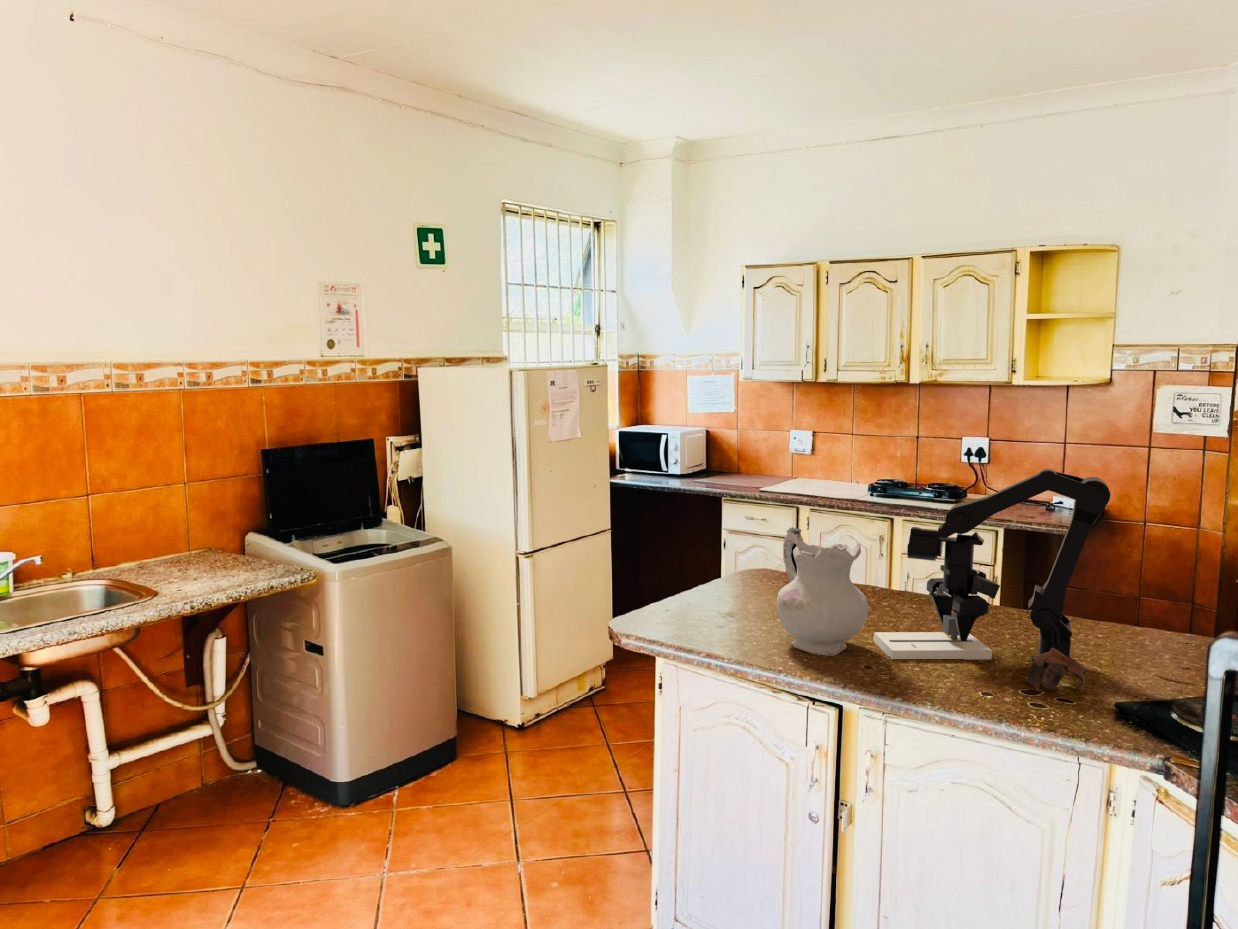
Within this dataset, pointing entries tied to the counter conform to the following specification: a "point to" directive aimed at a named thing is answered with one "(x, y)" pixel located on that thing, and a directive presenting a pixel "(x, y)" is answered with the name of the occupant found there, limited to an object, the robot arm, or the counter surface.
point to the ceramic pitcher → (820, 596)
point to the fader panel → (930, 646)
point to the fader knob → (950, 626)
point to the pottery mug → (1053, 669)
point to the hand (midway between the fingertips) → (954, 634)
